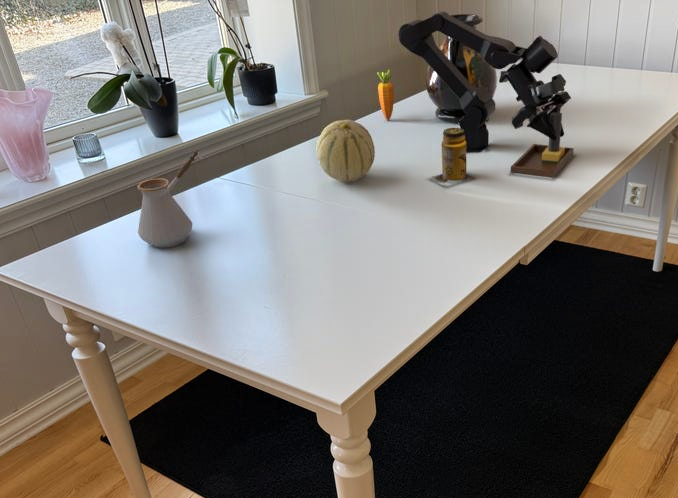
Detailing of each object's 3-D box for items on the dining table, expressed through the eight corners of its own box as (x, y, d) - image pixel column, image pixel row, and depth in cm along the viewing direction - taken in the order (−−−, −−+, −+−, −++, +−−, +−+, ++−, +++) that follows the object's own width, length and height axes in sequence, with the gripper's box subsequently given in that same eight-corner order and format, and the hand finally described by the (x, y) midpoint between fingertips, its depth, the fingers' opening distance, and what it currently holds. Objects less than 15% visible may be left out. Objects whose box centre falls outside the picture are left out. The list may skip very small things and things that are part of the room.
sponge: (558, 164, 176) (562, 117, 170) (541, 162, 178) (544, 116, 171) (564, 156, 181) (568, 110, 174) (547, 154, 182) (550, 109, 176)
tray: (552, 180, 169) (553, 171, 168) (510, 174, 174) (510, 166, 172) (573, 156, 182) (574, 148, 181) (533, 151, 187) (533, 143, 185)
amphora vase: (487, 129, 204) (488, 25, 188) (418, 125, 210) (413, 24, 194) (503, 108, 221) (505, 11, 204) (438, 105, 227) (436, 10, 210)
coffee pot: (171, 255, 146) (152, 187, 137) (130, 247, 150) (109, 180, 141) (233, 215, 161) (219, 152, 152) (194, 209, 165) (178, 147, 157)
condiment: (473, 179, 173) (473, 130, 166) (446, 187, 169) (444, 138, 162) (456, 171, 178) (455, 123, 171) (429, 179, 174) (427, 131, 167)
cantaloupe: (352, 164, 185) (346, 107, 176) (389, 177, 176) (385, 117, 168) (308, 181, 177) (299, 121, 168) (344, 194, 168) (337, 133, 159)
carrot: (377, 122, 215) (373, 71, 206) (384, 117, 218) (380, 67, 210) (392, 123, 213) (388, 72, 204) (398, 118, 217) (395, 68, 208)
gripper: (523, 73, 163) (559, 128, 163) (567, 57, 174) (601, 109, 174) (496, 102, 172) (530, 154, 172) (539, 85, 183) (571, 135, 183)
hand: (559, 137), depth 175 cm, fingers closed on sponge, 3 cm apart
